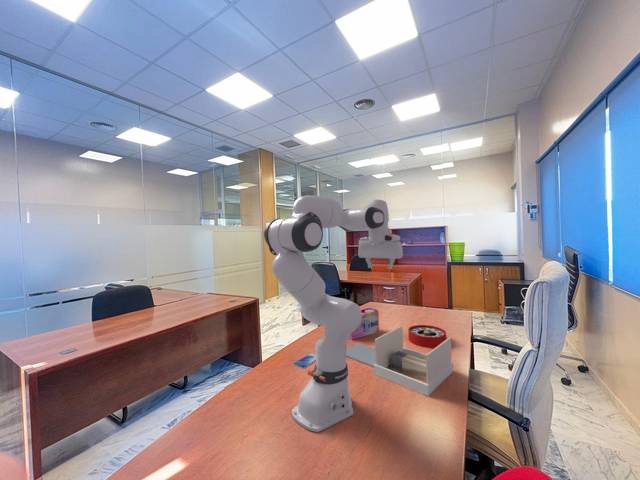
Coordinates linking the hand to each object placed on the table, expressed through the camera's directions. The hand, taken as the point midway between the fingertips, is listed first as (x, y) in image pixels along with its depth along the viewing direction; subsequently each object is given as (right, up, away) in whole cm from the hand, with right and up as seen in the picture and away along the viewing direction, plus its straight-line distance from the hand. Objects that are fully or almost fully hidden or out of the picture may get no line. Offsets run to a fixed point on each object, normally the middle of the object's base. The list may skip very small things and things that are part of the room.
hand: (380, 268), depth 117 cm
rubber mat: (-3, -46, +17) cm, 49 cm away
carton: (+14, -46, -1) cm, 48 cm away
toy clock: (+34, -45, +33) cm, 66 cm away
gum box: (-1, -46, +47) cm, 66 cm away
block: (+14, -46, -1) cm, 48 cm away
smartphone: (-33, -48, +14) cm, 59 cm away
